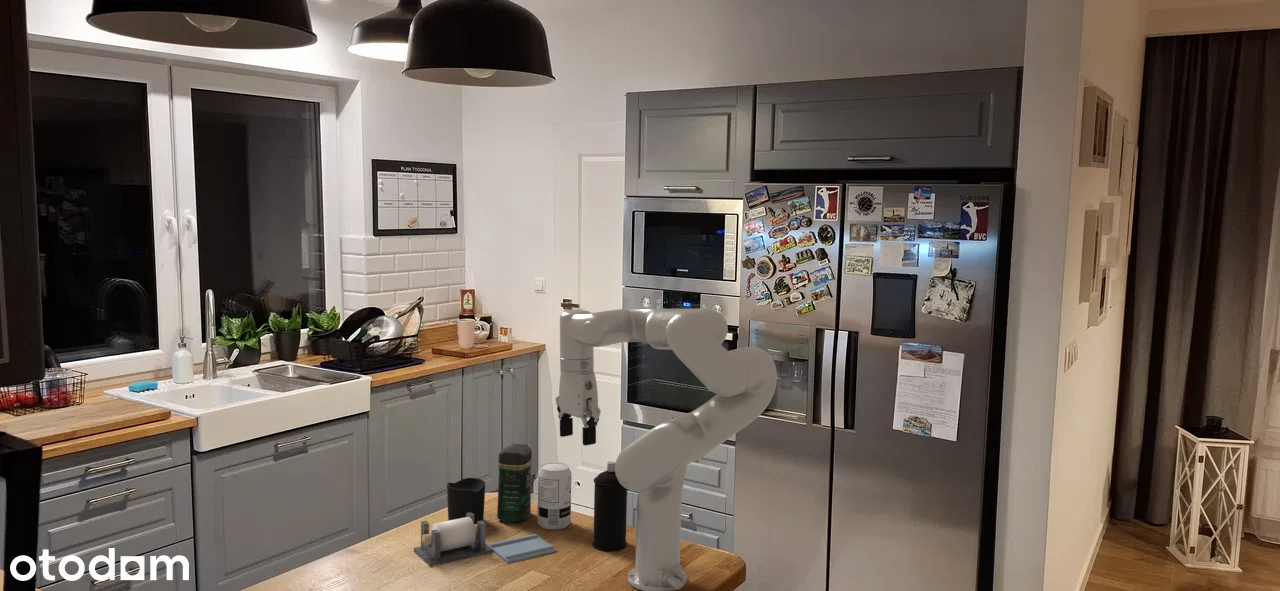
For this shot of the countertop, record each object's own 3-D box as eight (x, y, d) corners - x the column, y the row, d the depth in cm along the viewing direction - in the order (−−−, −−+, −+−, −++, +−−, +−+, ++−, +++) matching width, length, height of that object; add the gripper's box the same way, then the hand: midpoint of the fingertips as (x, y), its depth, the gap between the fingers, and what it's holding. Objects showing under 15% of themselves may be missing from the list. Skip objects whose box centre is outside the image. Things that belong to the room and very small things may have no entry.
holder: (474, 538, 206) (474, 509, 205) (492, 552, 198) (492, 523, 197) (413, 551, 197) (413, 521, 197) (430, 566, 189) (430, 535, 188)
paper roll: (476, 537, 204) (476, 511, 203) (487, 546, 199) (487, 519, 198) (419, 549, 196) (418, 522, 195) (429, 558, 191) (429, 530, 190)
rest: (536, 537, 207) (536, 532, 207) (556, 551, 199) (556, 546, 199) (487, 548, 200) (488, 542, 200) (506, 563, 192) (507, 557, 192)
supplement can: (533, 521, 218) (534, 463, 216) (564, 517, 221) (565, 460, 220) (543, 532, 210) (544, 473, 209) (575, 528, 214) (576, 469, 212)
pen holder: (448, 515, 220) (449, 477, 219) (486, 515, 221) (486, 477, 220) (444, 529, 211) (444, 489, 210) (483, 528, 212) (484, 489, 211)
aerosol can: (631, 549, 202) (634, 466, 200) (598, 553, 199) (600, 469, 197) (619, 536, 209) (621, 456, 207) (587, 540, 206) (589, 459, 204)
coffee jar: (524, 524, 215) (525, 452, 213) (493, 522, 216) (494, 450, 215) (534, 511, 225) (535, 442, 223) (505, 509, 226) (505, 440, 224)
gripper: (612, 368, 189) (612, 445, 190) (571, 359, 203) (571, 430, 204) (583, 372, 184) (584, 450, 186) (543, 362, 198) (544, 435, 200)
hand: (577, 440), depth 195 cm, fingers open, 9 cm apart
